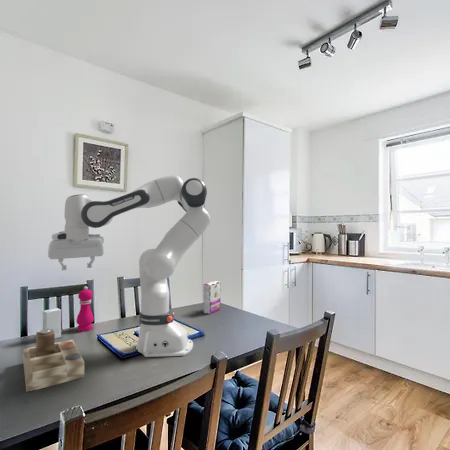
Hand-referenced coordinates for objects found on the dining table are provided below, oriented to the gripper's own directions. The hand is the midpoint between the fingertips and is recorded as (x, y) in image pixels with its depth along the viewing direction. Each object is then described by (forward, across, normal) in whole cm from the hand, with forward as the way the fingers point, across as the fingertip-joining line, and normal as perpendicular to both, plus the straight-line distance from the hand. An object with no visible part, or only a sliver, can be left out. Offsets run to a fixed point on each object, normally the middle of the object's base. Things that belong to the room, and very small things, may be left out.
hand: (77, 268), depth 121 cm
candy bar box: (+32, -71, -7) cm, 79 cm away
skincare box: (+31, +8, -13) cm, 34 cm away
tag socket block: (+31, +11, +18) cm, 37 cm away
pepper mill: (+31, -6, -17) cm, 36 cm away
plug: (+30, +13, +13) cm, 35 cm away
